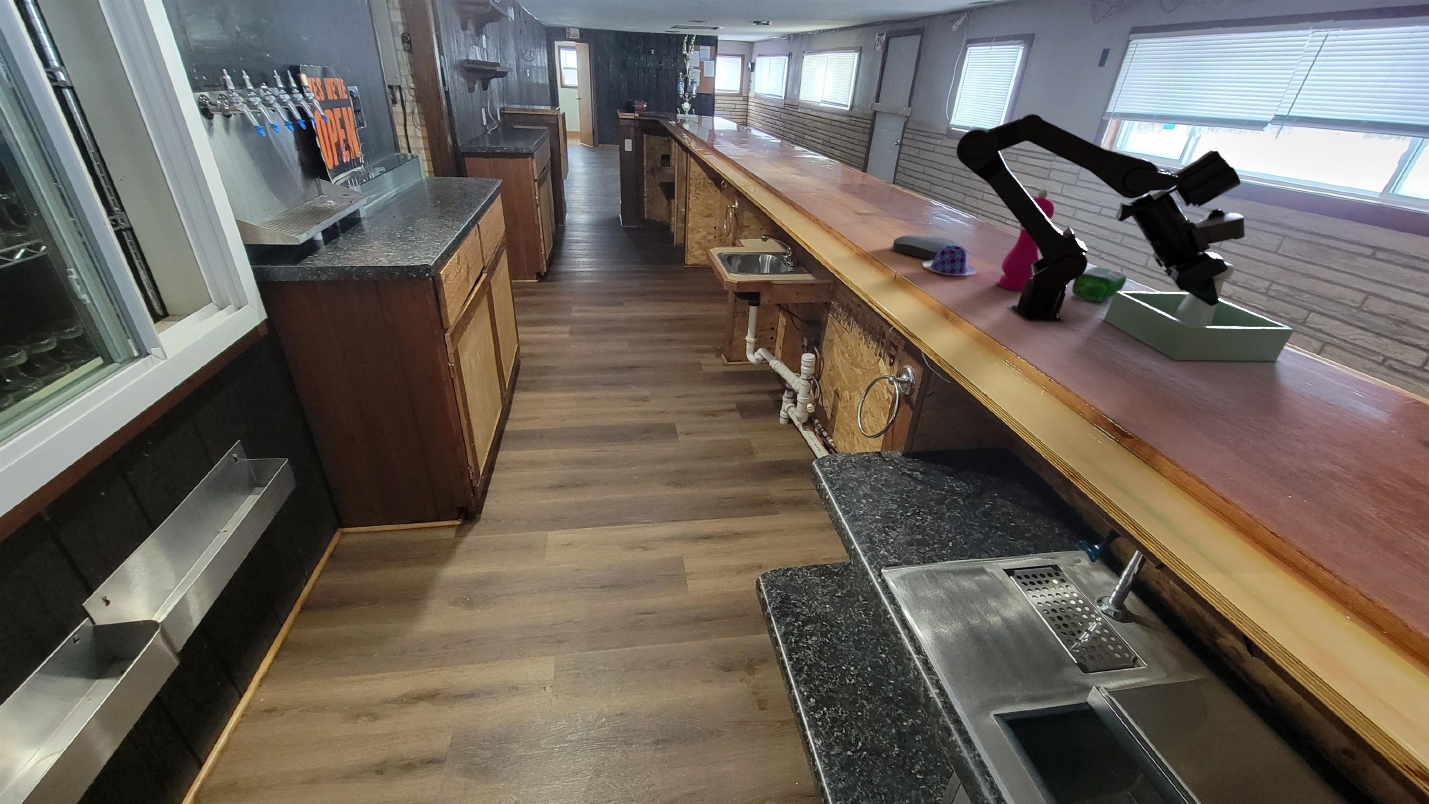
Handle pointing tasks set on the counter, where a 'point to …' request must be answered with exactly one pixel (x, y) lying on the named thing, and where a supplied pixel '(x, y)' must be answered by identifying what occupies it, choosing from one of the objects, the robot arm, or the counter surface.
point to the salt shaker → (1201, 304)
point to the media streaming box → (921, 245)
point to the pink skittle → (1024, 251)
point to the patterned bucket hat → (950, 262)
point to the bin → (1197, 329)
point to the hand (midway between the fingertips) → (1212, 301)
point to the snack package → (1098, 284)
